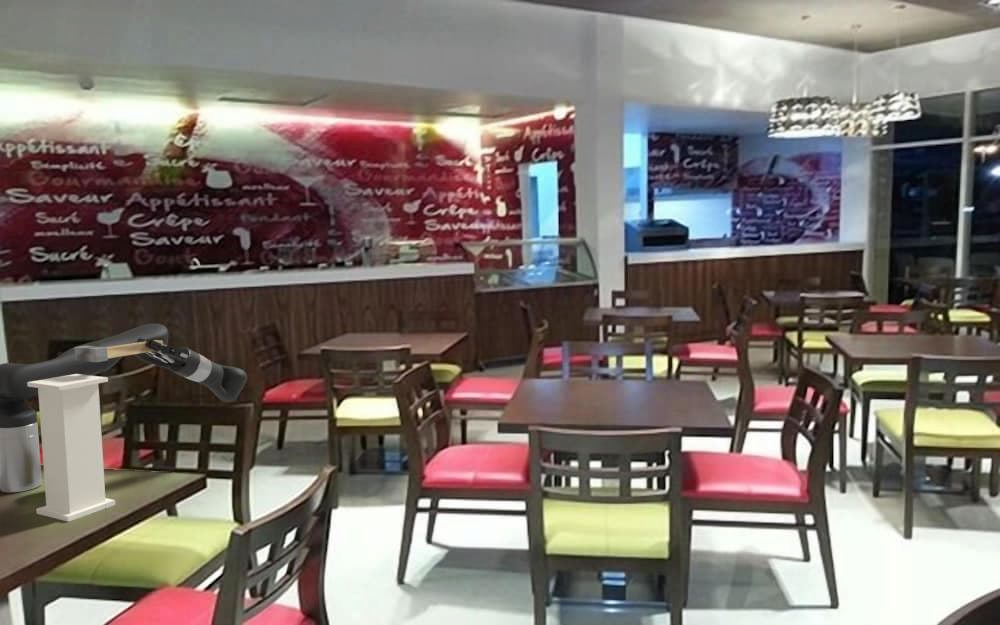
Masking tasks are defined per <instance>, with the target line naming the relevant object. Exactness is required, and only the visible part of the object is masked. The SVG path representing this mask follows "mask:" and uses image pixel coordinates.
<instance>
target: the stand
mask: <svg viewBox="0 0 1000 625" xmlns="http://www.w3.org/2000/svg"><path fill="white" fill-rule="evenodd" d="M107 382H109V378H108V377H107V376H97V375H92V376H90V375H82V374H73V375H67V376H61V377H55V378H49V379H44V380H38V381H32V382H27V386H28V387H35V388H38V394H37V395H38V405H39V407H38V408H39V417H40V418H39V419H40V420H39V421H40V422H39V424H40V434H41V435H40V436H41V448H42V449H41V450H42V451H41V452H42V462H43V463H42V464H43V476H44V480H43V481H44V488H45V489H44V493H45V503H46V504H45V505H44V506H41V507H37V508H36V514H37V515H41V516H44V517H49V518H53V519H55V520H60V521H64V522H71V521H74V520H77V519H80V518H83V517H87V516H88V515H92V514H93V513H97V512H99V511H103V510H105V508H106V509H108V508H110V507H111V508H112V507H113V506H116V500H115V499H112V498H107V497H106V487H105V486H106V485H105V471H104V470H105V469H104V455H103V454H104V453H103V452H104V451H103V440H102V438H103V437H102V423H101V421H102V419H101V406H100V405H101V404H100V402H101V401H100V389H99V384H103V383H107Z"/></svg>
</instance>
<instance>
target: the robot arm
mask: <svg viewBox="0 0 1000 625" xmlns="http://www.w3.org/2000/svg"><path fill="white" fill-rule="evenodd" d="M154 340H161V341H163V344H160V343H158V342H156V341H154ZM139 342H146V344H145V346H146V347H148V348H150V349H152V350H154V351H151V352H145V353H139V354H134V355H135V357H136V358H138V360H141V361H142V362H145V363H148V364H151V365H155V366H158V367H161V368H164V369H167V370H170V371H171V372H173V373H174V374H177V375H179V376H181V377H184V378H185V379H187V380H190V381H193V382H196V383H199V384H200V385H202V386H204V387H206V388H208V389H209V390H210V391H211V392H212V393H213V394H214V395H215V396H216V397H217V398H218V399H219V400H221V401H223V402H226V403H231V402H234V401H236V399H237V398H238V397H239V395H240V393H241V391H242V390H243V388H244V386H245V385H246V383H247V380H248V375H247V373H246V372H245V370H243V369H241V368H240V367H239V368H238V367H235V366H229V365H222V364H219V363H215V361H214V362H213V361H212V360H210V359H208V358H206V357H205V356H204V355H202V354H200V353H198V352H196V351H194V350H192V349H190V348H188V347H185V346H182V347H179V348H178V347H175V346H172V345H171V344H169V330H168V328H167V327H166V326H165V325H163V324H162V323H161V324H160V323H147V324H142V325H139V326H136V327H134V328H132V329H129V330H127V331H123V332H121V333H119V334H116V335H112V336H110V337H105V338H103V339H100V340H95V341H90V342H86V343H84V344H80V345H78V346H77V345H76V347H80V346H96V347H112V346H119V345H125V344H132V343H139ZM123 357H124V356H121V357H115V358H109V359H108V360H107V361H101V362H89V361H79V360H75V349H74V347H72V348H70V349H68V350H66V351H65V352H63V353H62V354H61V355H59V356H57V357H55V358H53V359H50V360H45V361H41V362H36V363H30V364H29V363H28V364H24V363H22V364H21V363H14V362H5V363H4V362H3V363H0V492H3V493H20V492H26V491H29V490H34V489H36V488H38V487H40V486H42V484H43V482H42V478H43V477H42V467H41V466H42V465H41V455H40V454H41V452H40V438H39V436H40V435H39V426H38V414H37V411H36V410H35V409H34V408H33V407H32V406H31V405H30V403H29V402H28V399H29V398H32V397H35V396H37V395H39V394H38V388H35V387H28V386H27V382H32V381H38V380H44V379H49V378H55V377H61V376H67V375H73V374H82V375H90V376H96V375H97V374H102V373H104V372H106V371H108V370H109V369H111V368H112V367H114V366H115V365H116V364H117V363H118V362H119V361H120V360H122V358H123Z"/></svg>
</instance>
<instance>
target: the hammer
mask: <svg viewBox="0 0 1000 625" xmlns="http://www.w3.org/2000/svg"><path fill="white" fill-rule="evenodd" d="M154 341H156V342H158V343H160V344H163V341H161V340H154ZM145 344H146V342H139V343H132V344H125V345H119V346H112V347H96V346H80V345H79V346H80V347H77V346H75V347H73V348H74V349H75V360H79V361H89V362H101V361H107V360H108V359H109V358H115V357H121V356H123V357H126V356H131V355H132V356H133V355H135V354H139V353H145V352H151V351H154V350H152V349H150V348H148V347H146V346H145Z"/></svg>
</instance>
